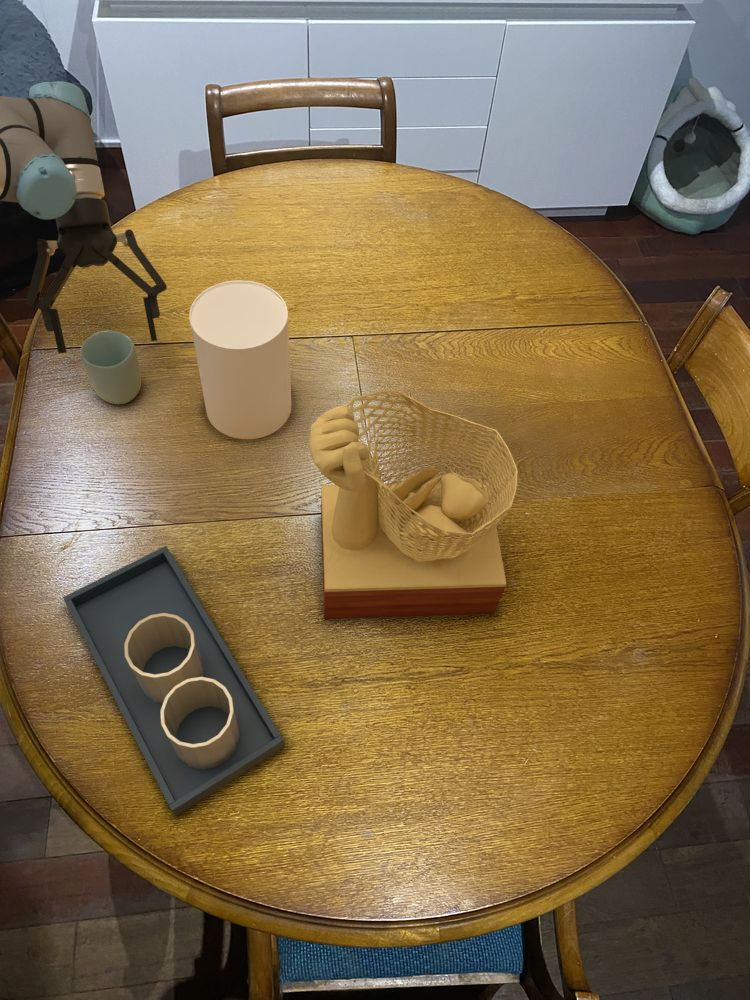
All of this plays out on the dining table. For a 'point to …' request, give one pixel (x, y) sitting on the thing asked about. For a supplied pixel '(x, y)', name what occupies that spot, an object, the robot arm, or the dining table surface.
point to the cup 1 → (112, 366)
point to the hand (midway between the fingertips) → (109, 347)
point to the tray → (105, 627)
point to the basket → (409, 515)
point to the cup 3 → (186, 701)
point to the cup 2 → (155, 637)
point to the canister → (243, 357)
